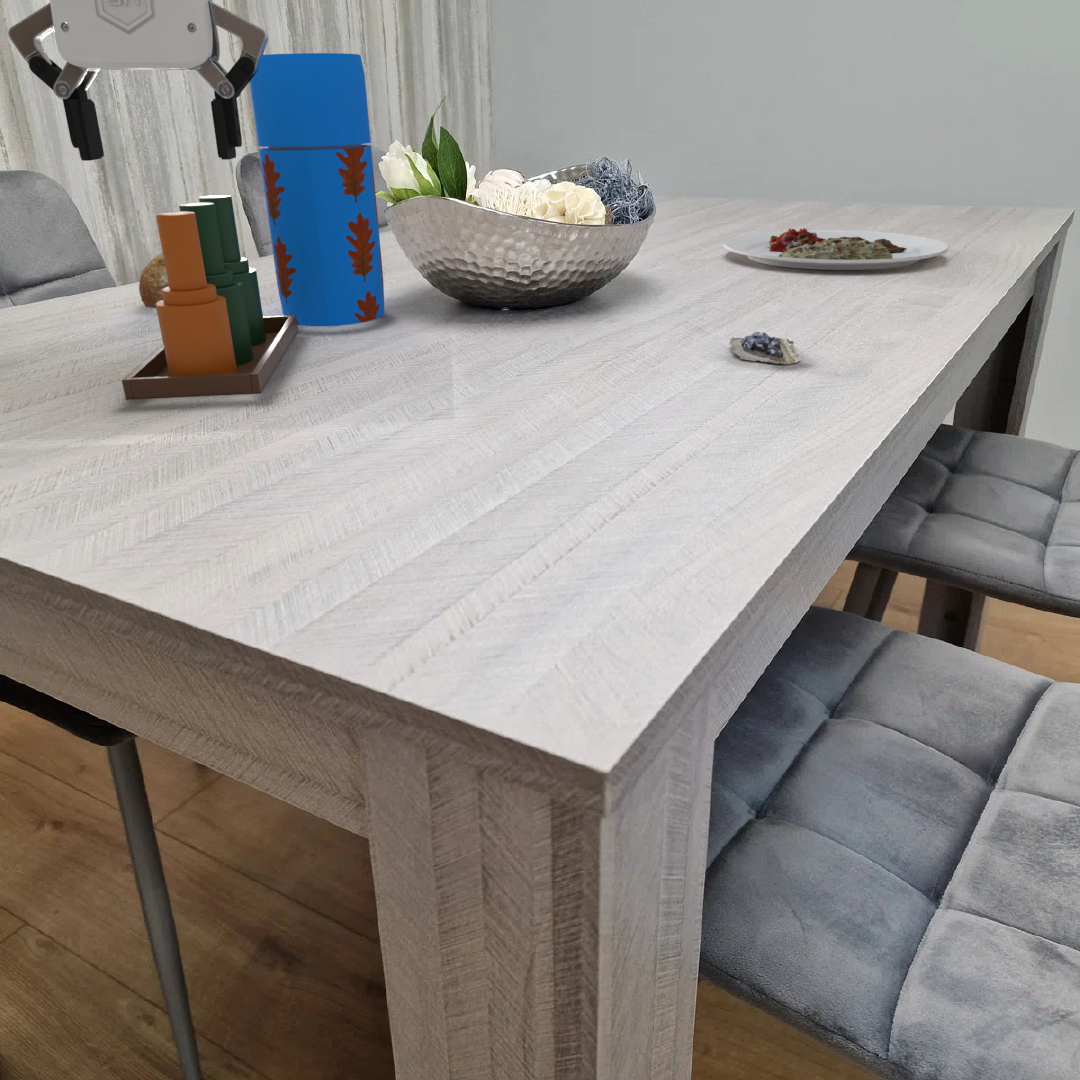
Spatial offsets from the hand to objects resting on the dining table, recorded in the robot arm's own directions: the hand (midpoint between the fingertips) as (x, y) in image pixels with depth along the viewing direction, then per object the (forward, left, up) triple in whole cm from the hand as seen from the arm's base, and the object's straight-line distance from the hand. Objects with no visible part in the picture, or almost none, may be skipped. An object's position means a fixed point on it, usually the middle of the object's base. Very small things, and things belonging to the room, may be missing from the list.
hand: (160, 158), depth 69 cm
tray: (0, +7, -17) cm, 19 cm away
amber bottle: (0, 0, -17) cm, 17 cm away
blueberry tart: (+48, +3, -18) cm, 52 cm away
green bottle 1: (0, +7, -17) cm, 18 cm away
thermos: (+8, +25, -18) cm, 32 cm away
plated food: (+74, +54, -18) cm, 94 cm away
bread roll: (-10, +38, -18) cm, 43 cm away
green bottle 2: (0, +14, -17) cm, 22 cm away
